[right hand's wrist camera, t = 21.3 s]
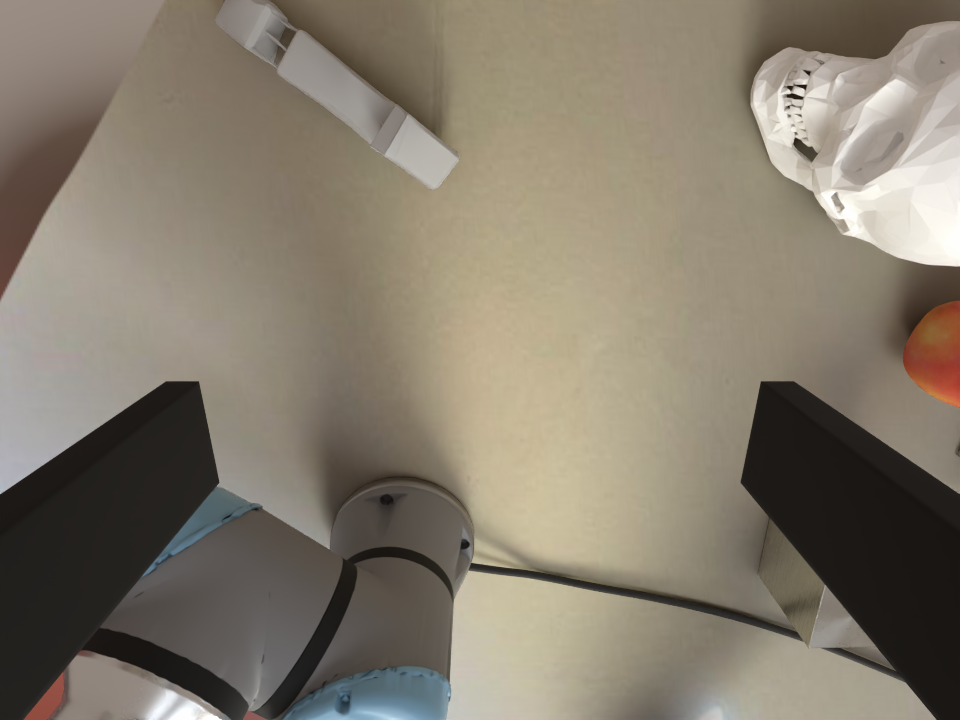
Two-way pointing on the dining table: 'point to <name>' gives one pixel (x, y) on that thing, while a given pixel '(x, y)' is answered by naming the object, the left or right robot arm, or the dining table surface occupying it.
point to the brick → (806, 597)
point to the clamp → (339, 90)
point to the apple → (936, 353)
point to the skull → (874, 139)
